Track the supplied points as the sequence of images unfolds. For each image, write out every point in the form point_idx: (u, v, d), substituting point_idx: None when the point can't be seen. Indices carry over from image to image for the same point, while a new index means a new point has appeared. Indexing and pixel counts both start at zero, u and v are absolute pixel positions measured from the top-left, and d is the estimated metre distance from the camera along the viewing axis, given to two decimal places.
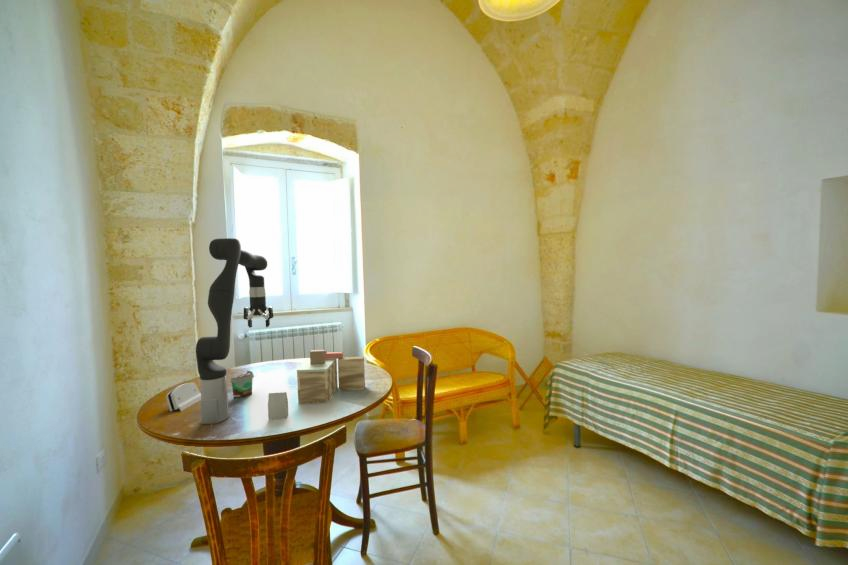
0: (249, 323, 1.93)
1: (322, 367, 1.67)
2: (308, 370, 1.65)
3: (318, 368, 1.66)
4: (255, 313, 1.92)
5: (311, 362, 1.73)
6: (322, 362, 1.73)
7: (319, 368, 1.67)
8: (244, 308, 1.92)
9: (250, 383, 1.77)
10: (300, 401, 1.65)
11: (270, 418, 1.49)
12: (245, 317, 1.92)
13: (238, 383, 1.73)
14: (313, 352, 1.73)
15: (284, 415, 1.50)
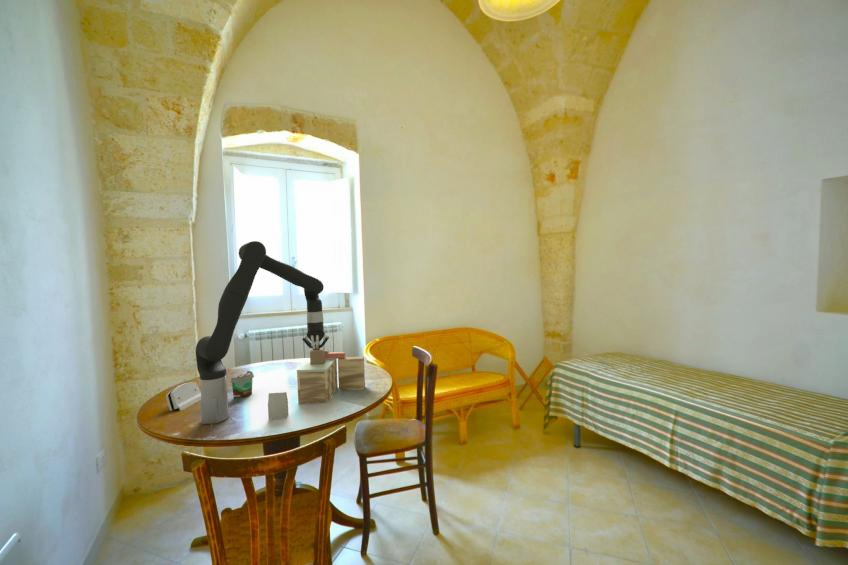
0: None
1: (322, 367, 1.67)
2: (308, 370, 1.65)
3: (318, 368, 1.66)
4: (315, 338, 1.80)
5: (311, 362, 1.73)
6: (322, 362, 1.73)
7: (319, 368, 1.67)
8: (303, 339, 1.80)
9: (250, 383, 1.77)
10: (300, 401, 1.65)
11: (270, 418, 1.49)
12: (310, 345, 1.80)
13: (238, 383, 1.73)
14: (313, 352, 1.73)
15: (284, 415, 1.50)
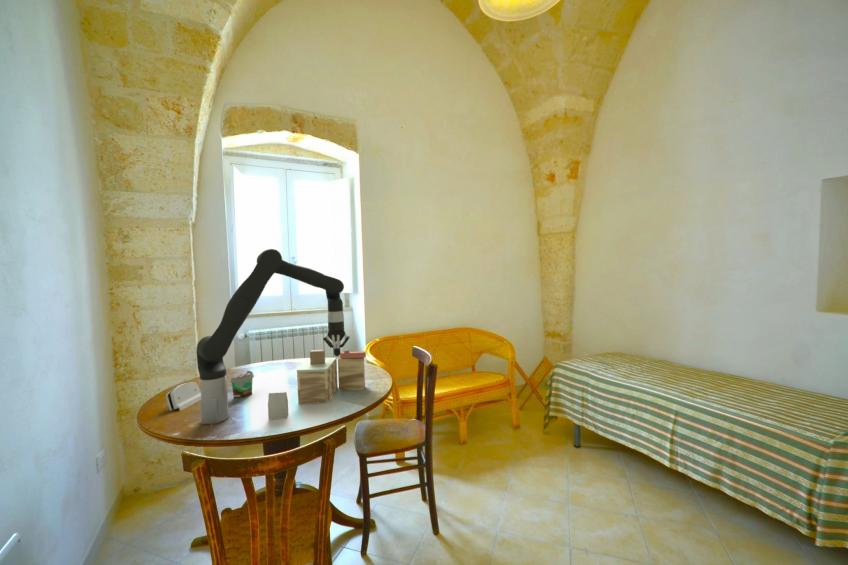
0: (335, 352, 1.81)
1: (322, 367, 1.67)
2: (308, 370, 1.65)
3: (318, 368, 1.66)
4: (336, 338, 1.80)
5: (311, 362, 1.73)
6: (322, 362, 1.73)
7: (319, 368, 1.67)
8: (323, 338, 1.80)
9: (250, 383, 1.77)
10: (300, 401, 1.65)
11: (270, 418, 1.49)
12: (331, 345, 1.81)
13: (238, 383, 1.73)
14: (313, 352, 1.73)
15: (284, 415, 1.50)
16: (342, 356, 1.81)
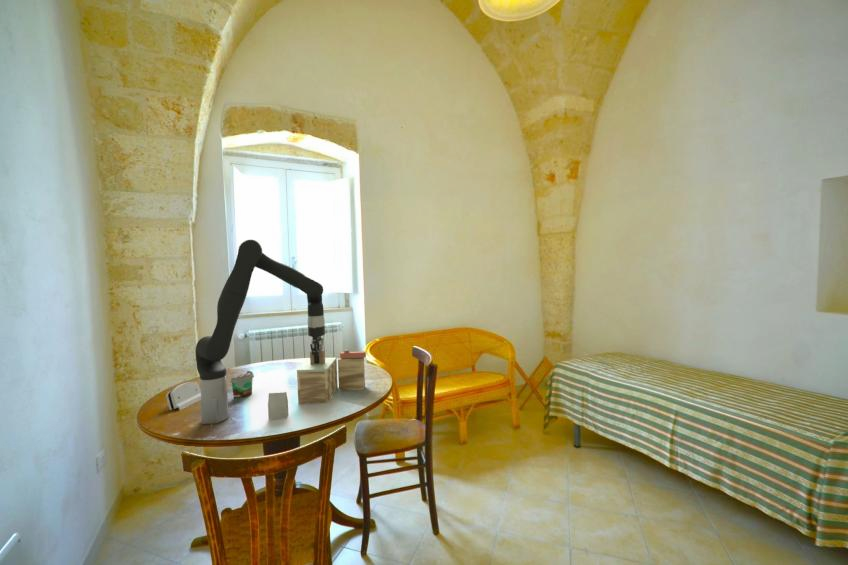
0: None
1: (322, 367, 1.67)
2: (308, 370, 1.65)
3: (318, 368, 1.66)
4: None
5: (311, 362, 1.73)
6: (322, 362, 1.73)
7: (319, 368, 1.67)
8: None
9: (250, 383, 1.77)
10: (300, 401, 1.65)
11: (270, 418, 1.49)
12: None
13: (238, 383, 1.73)
14: None
15: (284, 415, 1.50)
16: (342, 356, 1.81)
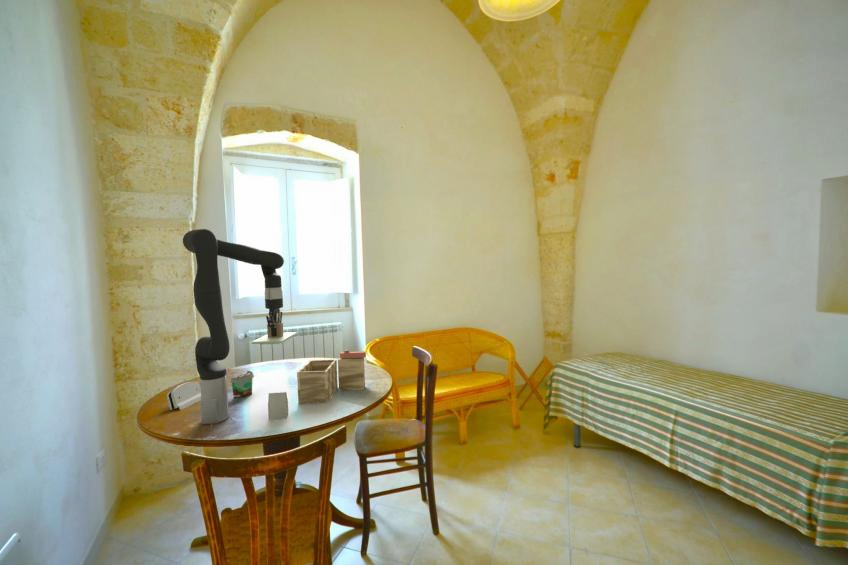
0: None
1: (278, 339, 1.64)
2: (263, 342, 1.61)
3: (274, 340, 1.63)
4: None
5: (268, 335, 1.70)
6: (279, 335, 1.70)
7: (275, 340, 1.63)
8: None
9: (250, 383, 1.77)
10: (300, 401, 1.65)
11: (270, 418, 1.49)
12: None
13: (238, 383, 1.73)
14: None
15: (284, 415, 1.50)
16: (342, 356, 1.81)
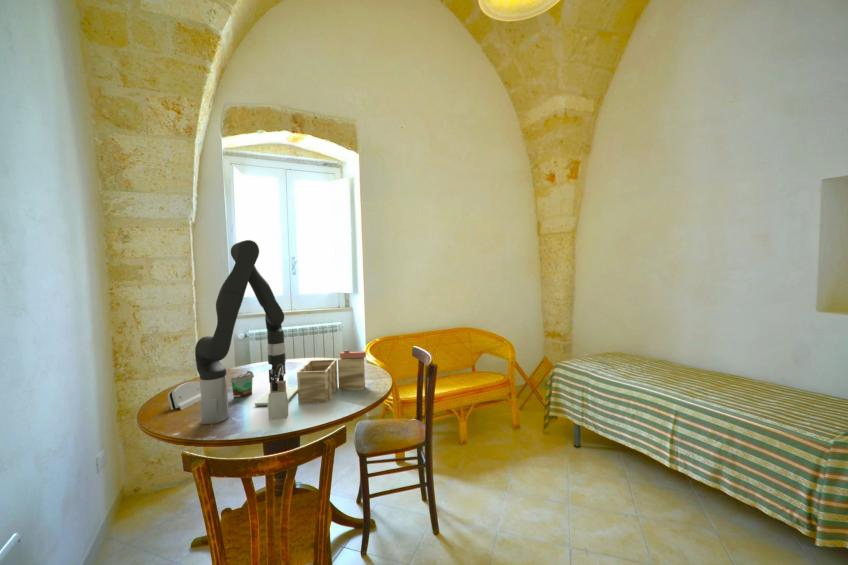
0: None
1: None
2: (266, 403, 1.63)
3: None
4: None
5: None
6: None
7: None
8: None
9: (250, 383, 1.77)
10: (300, 401, 1.65)
11: (270, 418, 1.49)
12: None
13: (238, 383, 1.73)
14: None
15: (284, 415, 1.50)
16: (342, 356, 1.81)
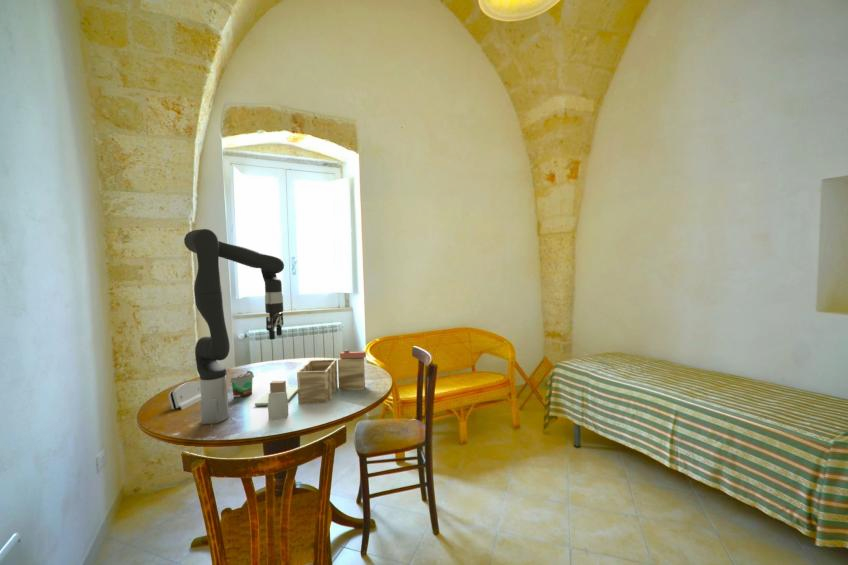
0: None
1: None
2: (266, 403, 1.63)
3: None
4: None
5: None
6: None
7: None
8: None
9: (250, 383, 1.77)
10: (300, 401, 1.65)
11: (270, 418, 1.49)
12: (277, 323, 1.77)
13: (238, 383, 1.73)
14: (273, 384, 1.71)
15: (284, 415, 1.50)
16: (342, 356, 1.81)
